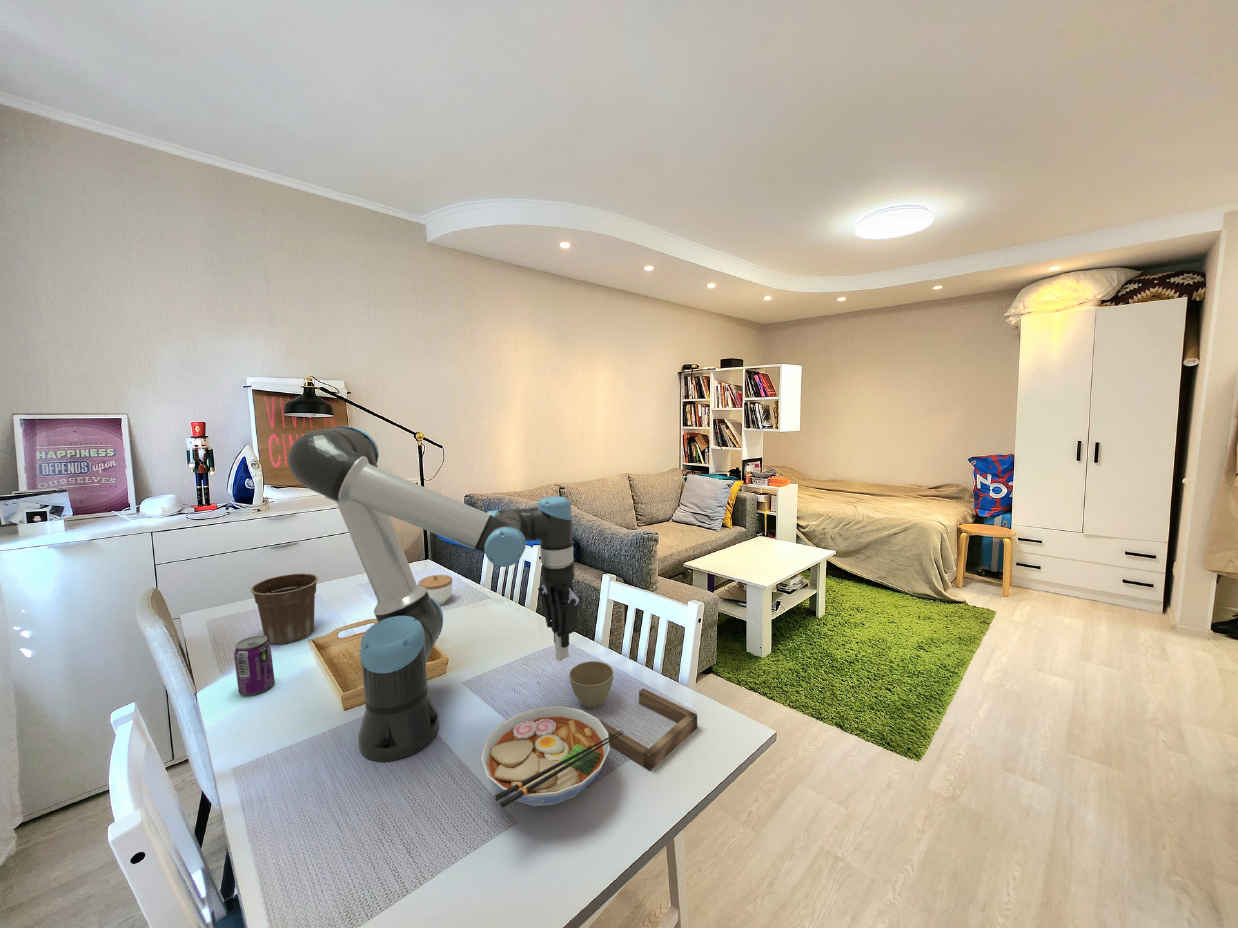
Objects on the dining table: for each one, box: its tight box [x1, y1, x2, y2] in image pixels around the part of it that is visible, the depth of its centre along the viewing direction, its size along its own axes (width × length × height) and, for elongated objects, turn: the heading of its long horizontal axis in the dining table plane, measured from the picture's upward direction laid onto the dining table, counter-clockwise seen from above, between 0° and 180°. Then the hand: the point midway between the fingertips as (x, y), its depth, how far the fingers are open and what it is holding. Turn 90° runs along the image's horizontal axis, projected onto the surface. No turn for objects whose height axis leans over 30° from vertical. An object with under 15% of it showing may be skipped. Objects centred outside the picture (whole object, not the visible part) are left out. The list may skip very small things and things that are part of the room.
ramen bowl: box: [480, 705, 625, 809], centre depth 90 cm, size 25×23×8 cm
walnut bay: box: [599, 687, 698, 771], centre depth 104 cm, size 16×14×3 cm
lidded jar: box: [417, 574, 453, 606], centre depth 170 cm, size 11×11×9 cm
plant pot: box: [250, 572, 319, 645], centre depth 147 cm, size 16×16×16 cm
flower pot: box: [568, 660, 615, 709], centre depth 114 cm, size 10×10×7 cm
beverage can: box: [233, 635, 276, 695], centre depth 120 cm, size 7×7×12 cm
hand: (562, 657), depth 120 cm, fingers closed
